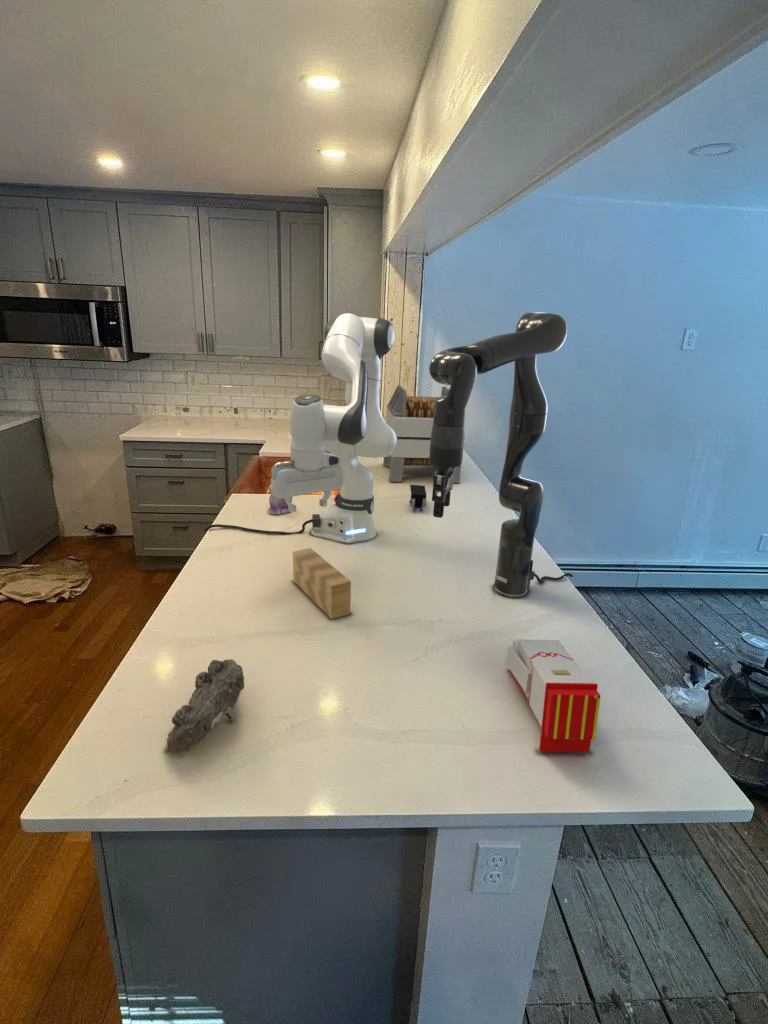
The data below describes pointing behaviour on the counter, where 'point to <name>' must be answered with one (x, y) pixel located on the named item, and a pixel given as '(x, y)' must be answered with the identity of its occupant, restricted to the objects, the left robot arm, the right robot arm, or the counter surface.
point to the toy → (556, 694)
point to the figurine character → (418, 497)
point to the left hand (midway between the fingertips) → (308, 508)
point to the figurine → (277, 504)
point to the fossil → (206, 705)
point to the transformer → (411, 432)
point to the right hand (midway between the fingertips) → (441, 511)
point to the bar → (322, 583)
